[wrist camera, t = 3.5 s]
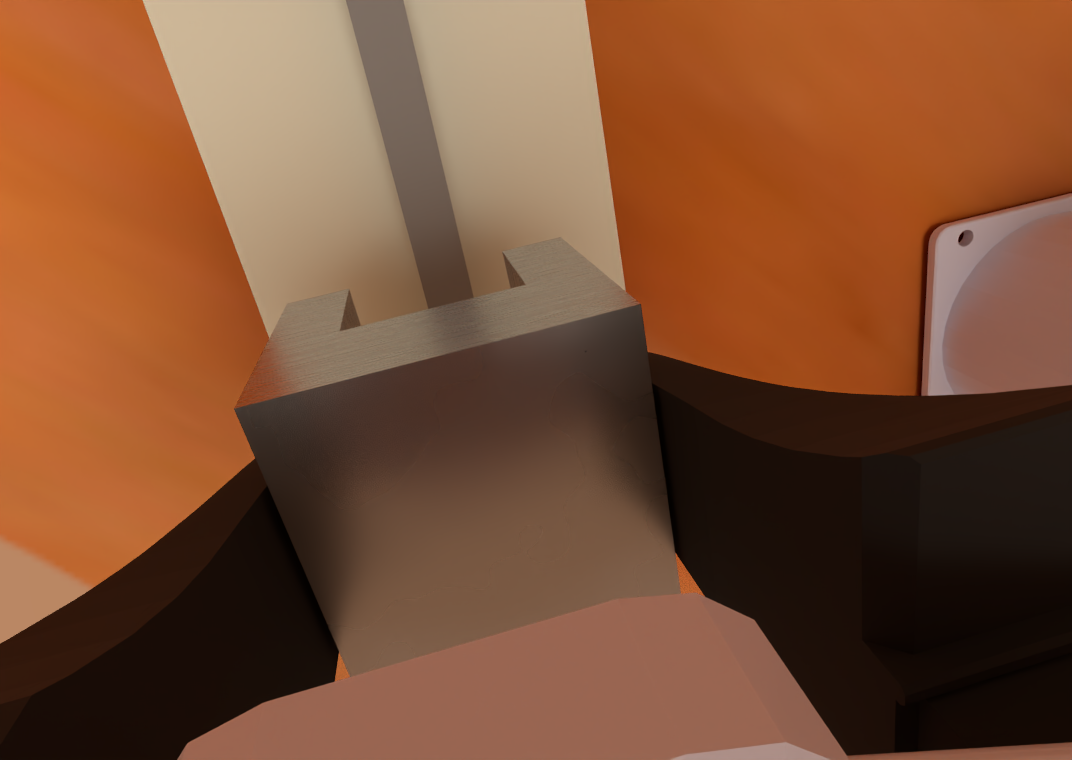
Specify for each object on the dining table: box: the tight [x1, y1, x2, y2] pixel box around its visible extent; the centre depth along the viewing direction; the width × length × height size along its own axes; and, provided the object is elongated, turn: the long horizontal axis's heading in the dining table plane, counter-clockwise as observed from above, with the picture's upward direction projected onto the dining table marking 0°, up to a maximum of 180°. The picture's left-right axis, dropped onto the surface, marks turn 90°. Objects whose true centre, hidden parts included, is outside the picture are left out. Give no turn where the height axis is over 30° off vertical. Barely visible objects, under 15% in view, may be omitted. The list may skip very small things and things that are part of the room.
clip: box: [234, 237, 681, 677], centre depth 11 cm, size 5×6×4 cm
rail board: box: [143, 0, 626, 338], centre depth 16 cm, size 10×16×4 cm, turn 11°
